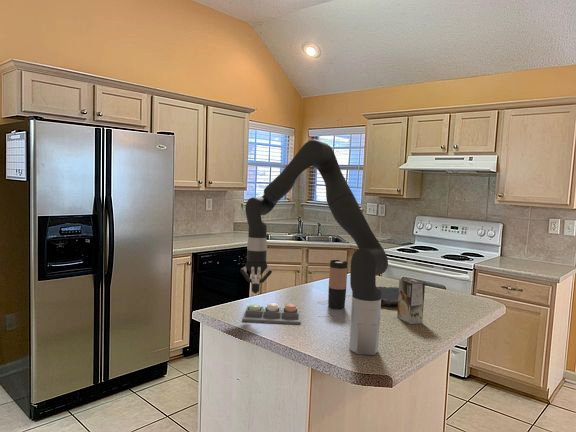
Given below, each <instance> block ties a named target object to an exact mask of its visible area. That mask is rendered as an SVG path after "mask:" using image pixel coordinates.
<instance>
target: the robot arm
mask: <svg viewBox="0 0 576 432" xmlns="http://www.w3.org/2000/svg"><path fill="white" fill-rule="evenodd" d="M294 155H295V156H294V157H293V158H292V159H291V161H289V163H288V164H287V166H285V168H284V169H283V170H282V172H280V174H278V175H277V176H276V177H275V178H274V179H273V180H272V181H271V182H270V183H268V184H267V185H266V187H265V188H264V190H263V194H262V196H261V197H258V196H256V197H255V196H254V197H252V196H251V197H250V198H248V199H247V201H246V203H245V207H244V208H245V210H244V211H245V216H246V221H247V224H248V234H247V235H248V236H247V243H246V245H247V250H246V251H247V252H246V263H245V266H243V267H241V268H240V270H239V271H240V274H242V276H243V278H245V280H246V282H247V283H251V292H252V294H258V292H260V284H262V283H264V282H265V281H266V280H267V279H268V278H269V277H270V276H271V274H272V273H273V269H271V268H269V266H268V264H267V251H268V250H267V249H268V245H267V244H268V241H267V240H268V239H267V237H268V236H267V233H268V229H267V228H268V227H267V223H266V222H264V221H262V216H266V215H268V214H269V213H270V212H272V211H273V209H274V208H275V207H276V205H277V203H278V202H279V201H280V200H281V199H283V198H284V196H286V195H287V194H288V193H289V192H290V191H291V190H292V188H293V187H294V185H295V183H296V181H297V179H298V178H299V176H301V174H302V173H303V172H304V171H306V170H307V169H309V168H310V167H313V168H316V170H317V171H318V172H319V174H320V176H321V178H322V179H323V182H324V186H325V197H326V198H325V199H326V202H327V206H328V208H329V210H330V211H331V214H332V217H333V218H334V220H335V221H336V223H337V224H338V225H339V226H340V227H341V228H342V229H343V230H344V231H345V232H346V233H347V234H348V235H349V236H350V237H351V238H352V239H353V241H354V242H355V244H356V246H357V248H358V249H356V250H355V251H354V252H353V254H352V256H351V260H350V270H349V271H350V275H349V276H350V278H349V279H350V280H349V281H350V282H349V283H350V289H351V291H352V292H351V293H352V295H351V310H350V311H351V312H350V328H349V343H348V345H349V346H348V349H349V350H350V351H351V352H353V353H355V355H364V356H365V355H367V356H368V355H369V356H376V354H377V353H378V352H379V340H380V339H379V338H380V325H381V308H382V305H381V296H382V291H381V289H380V288H378V287H379V286H377V283H376V282H377V281H376V276H379V275H380V276H381V275H382V274H384V273H386V271H387V269H388V266H389V260H388V259H389V258H388V256H387V253H386V252H385V251H386V250H385V249H384V248H383V246H382V245H381V243H380V242H379V240H378V238H377V237H376V236H375V234H374V233H373V231H372V229H371V227H370V225H369V223H368V221H367V218H366V217H365V215H364V214H363V212H362V210H361V207H360V205H359V203H358V201H357V199H356V197H355V195H354V194H353V191H352V190H351V188H350V185H349V183H348V182H347V180H346V178H345V176H344V174H343V173H342V170H341V168H340V166H339V162H338V160H337V157H336V154H335V152H334V149H333V148H332V147H331V145H330V144H328V143H326V142H323V141H322V140H321V141H320V140H318V139H310V140H308V141H307V142H305V143H304V144H303V145H302V146H301V148H300V149H299V150H298V151H297V152H296V154H294ZM247 271H248V273H249V274H250V275H251V277H250V275H249V274H248V273H247ZM263 273H265V274H264V275H263ZM262 275H263V277H262V278H261V276H262Z"/></svg>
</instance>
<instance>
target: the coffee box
mask: <svg viewBox="0 0 576 432" xmlns="http://www.w3.org/2000/svg"><path fill="white" fill-rule="evenodd" d="M398 282H399V283H398V287H399V295H398V305H397V315H396V317H397V318H398V319H399V320H400V321H401V320H402V321H404V322H405V323H407V324H409V325H415V324H416V325H417V324H422V323H423V320H424V319H423V318H424V305H425V291H426V288H425V287H426V283H425V282H422V281H420V280H416V279H413V278H399V281H398Z"/></svg>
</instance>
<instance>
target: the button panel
mask: <svg viewBox="0 0 576 432" xmlns="http://www.w3.org/2000/svg"><path fill="white" fill-rule="evenodd" d="M301 318H302V316H301V311H300V310H299V308H296V313H288V312H285V307H282V308H281V307H278V312H268V311H267V306H260V311H249V306H248V305H247V306H246V308H245V310H244V314H243V316H242V318H241V320H242V321H247V322H249V323H261V322H268V324H282V323H286V324H285V325H301V324H302V320H301ZM247 322H246V323H247ZM269 322H270V323H269Z"/></svg>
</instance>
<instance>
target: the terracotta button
mask: <svg viewBox="0 0 576 432" xmlns="http://www.w3.org/2000/svg"><path fill="white" fill-rule="evenodd" d="M284 308H285V312H288V313H296V309H297V305H295V304H293V303H287V304H285V305H284Z"/></svg>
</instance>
